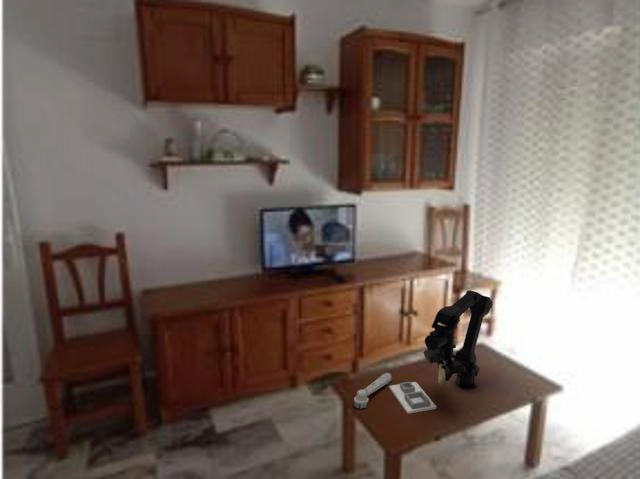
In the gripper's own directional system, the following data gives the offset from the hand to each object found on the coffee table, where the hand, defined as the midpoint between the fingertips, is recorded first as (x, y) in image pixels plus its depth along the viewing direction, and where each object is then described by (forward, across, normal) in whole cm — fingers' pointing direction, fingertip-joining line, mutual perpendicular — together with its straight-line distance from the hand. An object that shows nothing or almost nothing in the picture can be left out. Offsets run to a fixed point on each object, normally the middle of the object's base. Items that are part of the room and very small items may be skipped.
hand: (444, 377), depth 173 cm
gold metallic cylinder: (+2, 0, 0) cm, 2 cm away
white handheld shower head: (+11, -12, -25) cm, 29 cm away
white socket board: (+10, -5, -11) cm, 16 cm away
